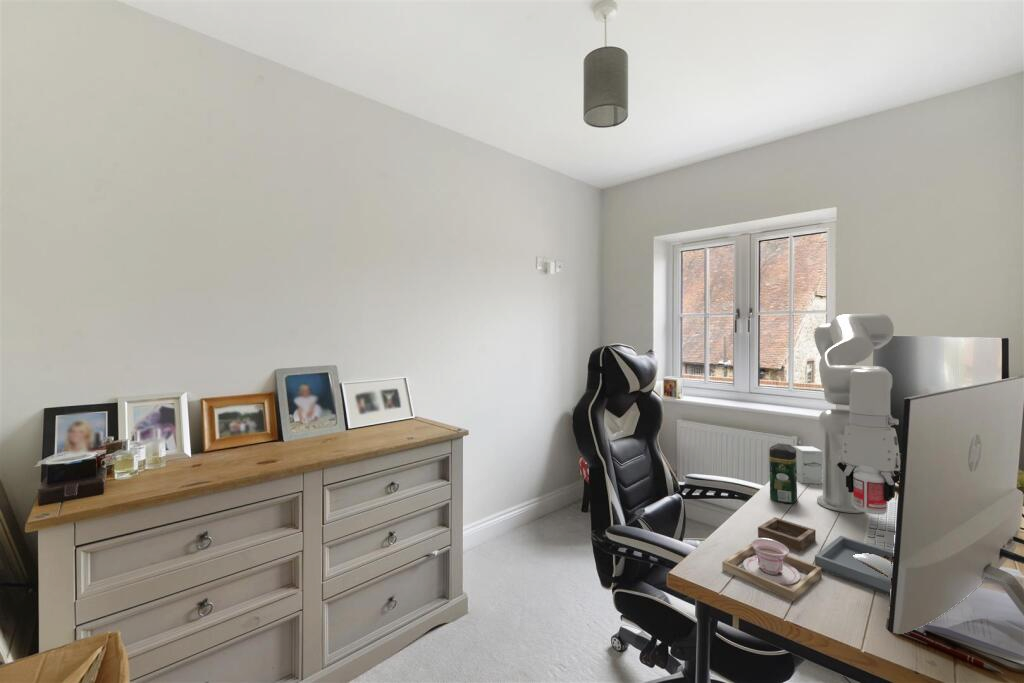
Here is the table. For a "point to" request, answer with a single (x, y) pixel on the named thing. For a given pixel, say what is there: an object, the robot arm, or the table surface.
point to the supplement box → (809, 464)
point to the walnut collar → (797, 544)
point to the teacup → (771, 561)
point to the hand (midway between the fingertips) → (869, 494)
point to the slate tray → (854, 563)
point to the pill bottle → (869, 490)
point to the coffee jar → (783, 473)
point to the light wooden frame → (767, 584)
